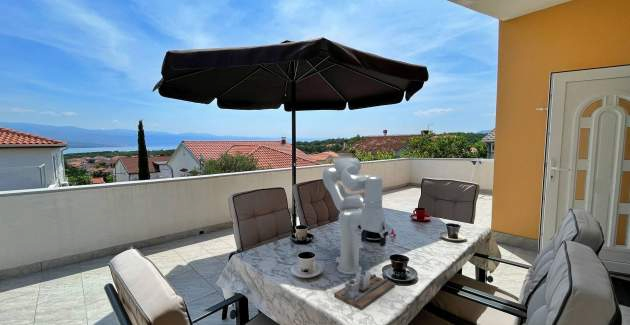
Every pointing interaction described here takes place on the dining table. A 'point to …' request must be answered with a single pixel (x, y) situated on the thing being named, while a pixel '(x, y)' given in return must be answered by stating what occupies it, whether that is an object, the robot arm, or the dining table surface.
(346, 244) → the robot arm
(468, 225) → the dining table surface
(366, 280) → the grey sliding block
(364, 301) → the bolt plate
